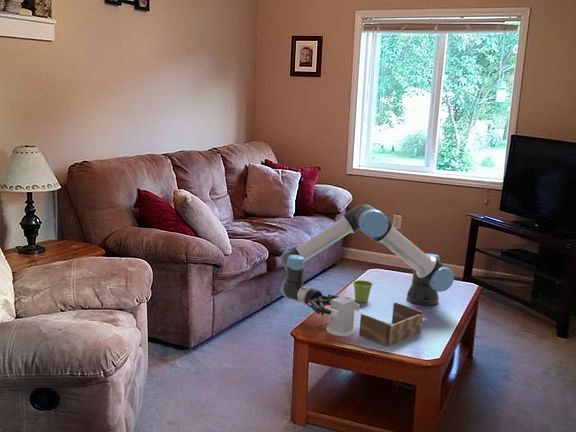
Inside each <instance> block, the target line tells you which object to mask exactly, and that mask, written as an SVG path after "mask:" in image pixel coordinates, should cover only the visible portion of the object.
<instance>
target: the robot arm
mask: <svg viewBox="0 0 576 432" xmlns="http://www.w3.org/2000/svg"><path fill="white" fill-rule="evenodd" d="M358 231H361V232H362V233H363V234H364V235H365V236H367V237H368V238H369V239H371V240H372V241H373V242H375V243H381V244H383V245H384V246H385V247H386V248H387V249H389V250H390V251H391V252H392V253H394V254H395V256H397V257H398V258H399V259H401V261H403V262H404V263H405V264H407V265H408V266H410V268H412V280H411V284H410V287H409V289H408V291H407V293H406V300H407V301H408V302H410V303H413V304H416V305H418V306H419V305H421V306H434V305H437V304H439V301H440V296H439V293H441V292H446V291H447V290H449V289H451V287H452V286H453V284H454V281H455V274H454V272H453V271H452V270H451V268H450V267H448V266H446V265H445V264H443V263H442V262H441V261H440V260H441V259H440V255H438V254H434V253H426V252H424V251H422V250H421V249H420V248H419V247H418V246H417V245H415V243H413V242H412V241H411V240H410V239H408V238H407V237H406V236H404V235H403V234H402V233H401V232H400V231H399V230H398V229H396V228H395V227H394V225H393V221H392V220H390V218H388V217H387V216H386V214H385V213H383V212H382V211H381V210H378V209H377V208H375V207H373V206H372V205H369V204H367V203H366V204H360V205H358V206H355V207H353V208H351V209H350V210H349V211H346V212H345V213H344V214H342V215H341V218H340V219H339V220H337V221H335V222H334V223H333V224H331V225H329V226H328V227H326V228H324V229H323V230H322V231H320V232H318V233H317V234H316V235H314V236H312V237H311V238H309V239H308V240H306V241H305V242H303V243H301V244H300V245H298V246H297V247H295V248H293V249H292V250H286V251H284V252H282V254H281V257H280V262H281V265H282V266H283V267H284V269H285V270H286V278H285V280H284V281H282V283H281V286H280V288H279V291H280V294H281V295H282V296H284V297H285V298H287V299H290V300H293V301H296V302H298V303H301V304H303V305H305V306H308V307H310V308H311V309H312V310H313V311H314V312H315V313H316V314H318V315H319V314H320V315H321V316H324V315H325V314H326V315H328V316H329V317H330V316H333V317H336V318H338V314H339V311H337V310H334V309H331V307H328V306H331V300H332V299H335V298H338V297H341V296H339V295H333V294H327V295H323V294H322V292H321V291H320V290H318V289H316V288H313V287H311V286H307V285H304V274H305V262H306V261H308V260H310V259H311V258H313V257H314V256H316V255H317V254H319V253H321V252H322V251H324V250H325V249H326V248H328V247H329V246H332V245H333V244H334V243H336V242H338V241H339V240H341V239H342V238H344V237H345V236H347V235H349V234H354V233H356V232H358ZM344 297H345V298H348V299H351V298H350V297H346V296H344ZM360 305H361V304H360V303H359V302H355V309H354V311H358V312H359V311H360V308H361V307H360Z"/></svg>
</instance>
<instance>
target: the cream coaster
mask: <svg viewBox="0 0 576 432" xmlns="http://www.w3.org/2000/svg"><path fill="white" fill-rule="evenodd" d="M326 332H327V333H328V334H331V335H334V336H335V337H336V336H337V337H351V336H353V335H355V334H356V329H355V328H354V327H353V330H350V331H348V332H345V333H340V332H337V331H335V330H332V329H329V325H327V326H326Z"/></svg>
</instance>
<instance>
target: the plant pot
mask: <svg viewBox="0 0 576 432" xmlns="http://www.w3.org/2000/svg"><path fill="white" fill-rule="evenodd" d="M352 285H353V288H354V300H355V302H356V303H367V302H369V298H370V293H371V289H372V286H373V285H374V284H373V282H371V281H368V280H362V279H360V280H355V281H353V282H352Z"/></svg>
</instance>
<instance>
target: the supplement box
mask: <svg viewBox="0 0 576 432" xmlns="http://www.w3.org/2000/svg"><path fill="white" fill-rule="evenodd" d="M345 297H346V296H342V295H341V296H340V297H338V298H335V299H332V300H331V305H330V308H331V309H334V310H337V311H339V314H338V318H336V317H333V316H330V315H329V329H332V330H335V331H337V332H340V333H345V332H348V331H350V330H353V328H354V322H355V303H356V300H355V299H351V298H350V299H348V298H349V297H348V298H347V297H346V298H345Z"/></svg>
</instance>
